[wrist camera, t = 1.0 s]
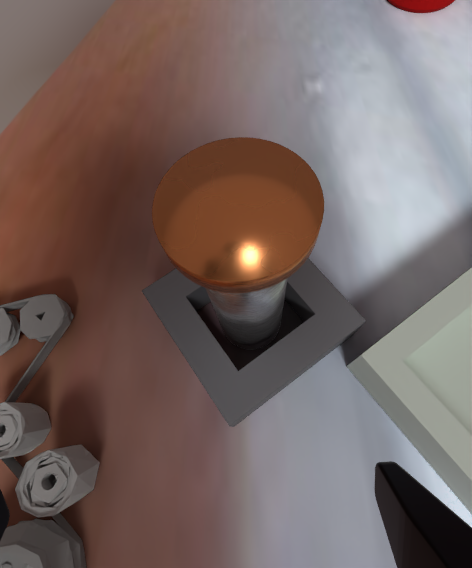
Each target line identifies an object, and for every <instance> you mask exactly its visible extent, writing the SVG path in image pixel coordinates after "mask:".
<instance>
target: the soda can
mask: <svg viewBox="0 0 472 568" xmlns="http://www.w3.org/2000/svg"><path fill="white" fill-rule="evenodd" d="M388 1H389V2H390V3H391V4H392V5H394V6H395V7H397V8H399V9H402V10H405V11H408V12H414V13H429V12H434V11H438V10H441V9H443V8H445V7H447V6H448V5H450V4H451V3H453V2H454V1H455V0H388Z"/></svg>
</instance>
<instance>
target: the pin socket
mask: <svg viewBox="0 0 472 568" xmlns="http://www.w3.org/2000/svg"><path fill="white" fill-rule="evenodd" d="M142 292H143V294H144V295H145V297H146V298H147V300H148V301H149V303H150V305H151V306H152V308H153V309H154V311H155V312H156V314H157V315H158V317H159V318H160V320H161V322H162V323H163V325H164V326H165V328H166V329H167V331H168V332H169V334H170V335H171V337H172V338H173V340H174V342H175V343H176V345H177V346H178V348H179V349H180V351H181V352H182V354H183V355H184V357H185V358H186V360H187V362H188V363H189V365H190V366H191V368H192V369H193V371H194V372H195V374H196V375H197V377H198V379H199V380H200V382H201V383H202V385H203V386H204V388H205V389H206V391H207V392H208V394H209V395H210V397H211V399H212V400H213V402H214V403H215V405H216V406H217V408H218V409H219V411H220V412H221V414H222V415H223V417H224V419H225V420H226V422H227V423H228V425H229V426H232V427H234V426H236V425H237V424H238V423H239V422H241V421H242V420H243V419H245V418H246V417H247V416H249V415H250V414H251V413H252V412H254V411H255V410H256V409H258V408H259V407H260V406H261V405H263V404H264V403H265V402H267V401H268V400H269V399H271V398H272V397H273V396H274V395H276V394H277V393H278V392H280V391H281V390H282V389H283V388H285V387H286V386H287V385H289V384H290V383H291V382H292V381H294V380H295V379H296V378H298V377H299V376H300V375H302V374H303V373H304V372H305V371H307V370H308V369H309V368H311V367H312V366H313V365H314V364H316V363H317V362H318V361H320V360H321V359H322V358H324V357H325V356H326V355H327V354H329V353H330V352H331V351H333V350H334V349H335V348H336V347H338V346H339V345H340V344H342V343H343V342H344V341H346V340H347V339H348V338H349V337H351V336H352V335H353V334H354V333H355V332H356V331H357V330H358V329H359V328H360V327H361V326H362V325H363V324H364V322H365V321H366V320H365V319H364V318H363V317H362V316H361V315H360V314H359V312H358V311H357V310H356V309H355V308H354V307H353V306H352V305H351V304H350V303H349V302H348V301H347V300H346V298H345V297H344V296H343V295H342V294H341V293H340V292H339V291H338V290H337V289H336V288H335V287H334V286H333V284H332V283H331V282H330V281H329V280H328V279H327V278H326V277H325V276H324V275H323V274H322V273H321V271H320V270H319V269H318V268H317V267H316V266H315V265H314V264H313V263H312V262H311V261H310V260H309V259H308V258H307V260H306V261H305V263H304V264H303V265H302V266H301V267H300V268H299V269H298V270H297V271H296V272H295V273H293V274H292V275H291V276H290V277H288V279H287V285H286V292H285V298H284V299H285V300H286V301H287V302H288V304H289V305H290V306H291V307H292V308H293V310H294V311H295V312H296V313H297V314H298V315H299V317H300V318H301V319H302V320H303V321H304V323H303V324H301V325H300V326H299V327H297V328H296V329H295V330H293V331H292V332H290V333H289V334H288V335H286V336H285V337H284V338H282V339H281V340H280V341H278V342H277V343H276V344H274V345H273V346H272V347H270V348H269V349H268V350H266V351H265V352H263V353H262V354H261V355H259V356H258V357H257V358H255V359H254V360H253V361H251V362H250V363H249V364H247V365H246V366H245V367H243V368H242V369H241V370H239V371H238V370H237V369H236V367H235V366H234V364H233V363H232V362H231V360H230V359H229V357H228V356H227V355H226V353H225V352H224V350H223V349H222V347H221V346H220V345H219V343H218V342H217V340H216V339H215V338H214V336H213V335H212V333H211V332H210V330H209V329H208V328H207V326H206V325H205V323H204V322H203V321H202V319H201V318H200V316H199V315H198V313H197V312H196V311H197V310H199V309H200V308H202V307H203V306H205V305H206V304H208V303H209V302H210V298H209V296H208V293H207V291H206V288H205V287H202V286H200V285H198V284H196V283H194V282H192V281H191V280H189V279H188V278H186V277H185V276H184V275H183V274H182V273H180V272H179V271H178V270H177V269H174V270H173V271H171V272H170V273H168V274H166V275H165V276H163V277H162V278H160V279H159V280H157V281H156V282H154V283H153V284H151V285H150V286H148V287H147V288H145V289H143V290H142Z"/></svg>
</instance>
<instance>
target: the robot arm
mask: <svg viewBox="0 0 472 568" xmlns="http://www.w3.org/2000/svg"><path fill="white" fill-rule="evenodd" d="M375 496H376V501H377V504H378V507H379V510H380V514H381V517H382V520H383V523H384V526H385V530H386V533H387V536H388V539H389V542H390V546H391V549H392V552H393V555H394V559H395V562H396V565H397V568H472V528H471V527H470V526H469V525H468V524H467V523H466V522H464V521H463V520H462V519H461V518H460V517H459V516H457V515H456V514H455V513H454V512H453V511H452V510H450V509H449V508H448V507H447V506H446V505H445V504H444V503H442V502H441V501H440V500H439V499H438V498H437V497H435V496H434V495H433V494H432V493H431V492H430V491H428V490H427V489H426V488H425V487H424V486H423V485H421V484H420V483H419V482H418V481H417V480H416V479H414V478H413V477H412V476H411V475H410V474H409V473H407V472H406V471H405V470H404V469H403V468H402V467H400V466H399V465H398V464H397V463H395V462H379V463H377V464H376V467H375ZM9 516H10V514H9V509H8V507H7V504H6V502H5V499H4V497H3V494H2V492H1V490H0V541H1V538H2V536H3V534H4V531H5V529H6V527H7V525H8V521H9Z"/></svg>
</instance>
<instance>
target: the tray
mask: <svg viewBox="0 0 472 568" xmlns="http://www.w3.org/2000/svg"><path fill="white" fill-rule="evenodd" d="M347 368H348V369H349V370H350V371H351V372H352V374H353V375H354V376H355V377H356V378H357V379H358V381H359V382H360V383H361V384H362V385H363V387H364V388H365V389H366V390H367V391H368V392H369V394H370V395H371V396H372V397H373V398H374V399H375V401H376V402H377V403H378V404H379V405H380V407H381V408H382V409H383V410H384V411H385V412H386V414H387V415H388V416H389V417H390V418H391V420H392V421H393V422H394V423H395V424H396V425H397V427H398V428H399V429H400V430H401V431H402V432H403V434H404V435H405V436H406V437H407V438H408V440H409V441H410V442H411V443H412V444H413V445H414V447H415V448H416V449H417V450H418V451H419V453H420V454H421V455H422V456H423V457H424V458H425V460H426V461H427V462H428V463H429V464H430V466H431V467H432V468H433V469H434V470H435V471H436V473H437V474H438V475H439V476H440V477H441V478H442V480H443V481H444V482H445V483H446V484H447V486H448V487H449V488H450V489H451V490H452V491H453V493H454V494H455V495H456V496H457V497H458V499H459V500H460V501H461V502H462V503H463V504H464V506H465V507H466V508H467V509H468V510H469V511H470V513H471V514H472V267H471V268H470V269H469V270H468V271H466V272H465V273H464V274H463V275H461V276H460V277H459V278H458V279H456V280H455V281H454V282H452V283H451V284H450V285H449V286H447V287H446V288H445V289H444V290H442V291H441V292H440V293H439V294H437V295H436V296H435V297H433V298H432V299H431V300H430V301H428V302H427V303H426V304H425V305H423V306H422V307H421V308H420V309H418V310H417V311H416V312H415V313H413V314H412V315H411V316H409V317H408V318H407V319H406V320H404V321H403V322H402V323H401V324H399V325H398V326H397V327H396V328H394V329H393V330H392V331H390V332H389V333H388V334H387V335H385V336H384V337H383V338H382V339H380V340H379V341H378V342H377V343H375V344H374V345H373V346H372V347H370V348H369V349H368V350H366V351H365V352H364V353H363V354H361V355H360V356H359V357H358V358H356V359H355V360H354V361H353V362H351V363H350V364H349V365H347Z"/></svg>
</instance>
